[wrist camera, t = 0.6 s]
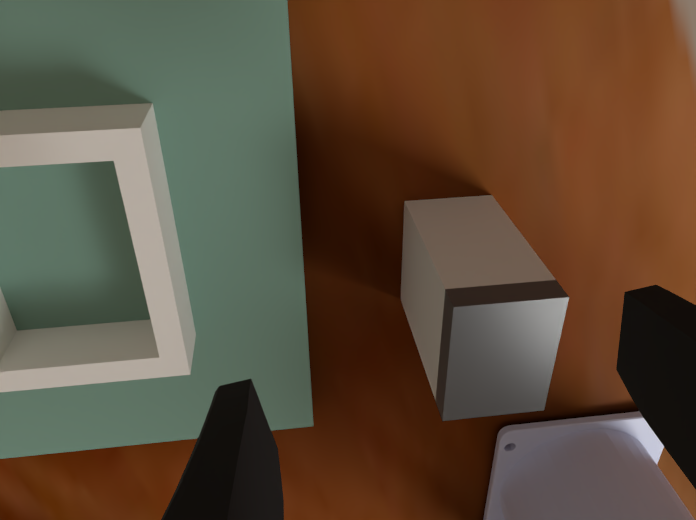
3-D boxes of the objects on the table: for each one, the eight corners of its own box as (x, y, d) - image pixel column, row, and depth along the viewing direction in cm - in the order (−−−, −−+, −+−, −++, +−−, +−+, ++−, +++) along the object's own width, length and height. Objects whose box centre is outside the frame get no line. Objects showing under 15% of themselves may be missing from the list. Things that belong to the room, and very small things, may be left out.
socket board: (311, 407, 24) (317, 467, 22) (0, 439, 23) (-31, 506, 21) (278, -117, 15) (282, -118, 12) (-251, -109, 14) (-366, -109, 11)
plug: (479, 292, 22) (543, 410, 17) (400, 298, 22) (442, 421, 17) (492, 195, 20) (568, 297, 15) (404, 201, 20) (453, 307, 15)
